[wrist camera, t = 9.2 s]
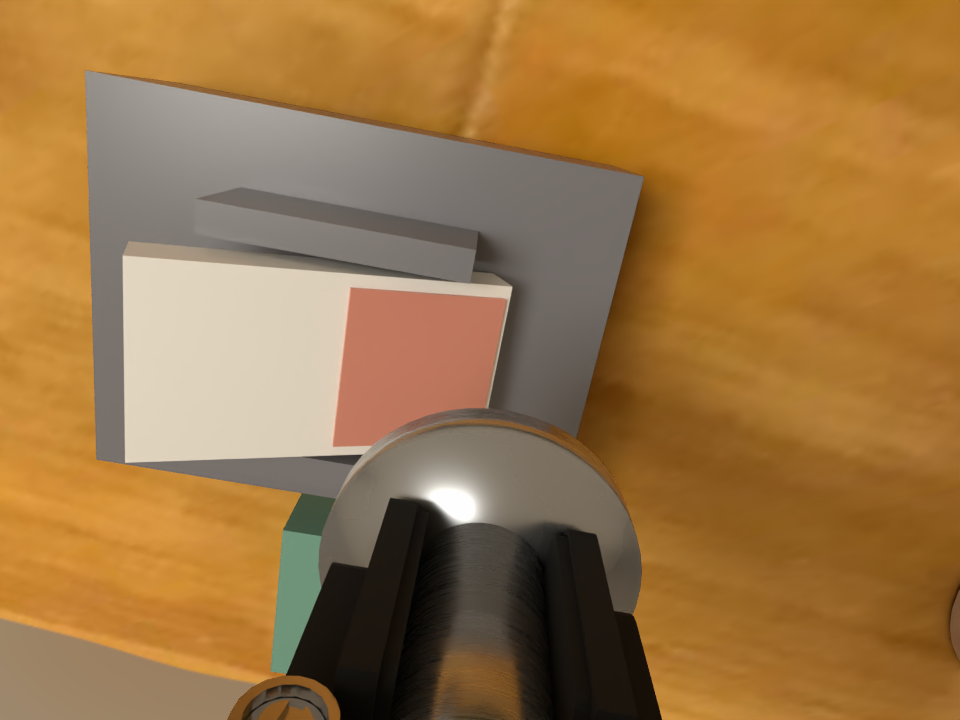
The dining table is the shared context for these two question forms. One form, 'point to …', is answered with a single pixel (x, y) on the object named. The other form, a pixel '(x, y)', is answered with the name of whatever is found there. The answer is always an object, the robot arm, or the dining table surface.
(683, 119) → the dining table surface
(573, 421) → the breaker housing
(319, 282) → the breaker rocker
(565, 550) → the robot arm
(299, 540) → the stylus holder
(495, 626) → the metal knob
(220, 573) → the dining table surface
